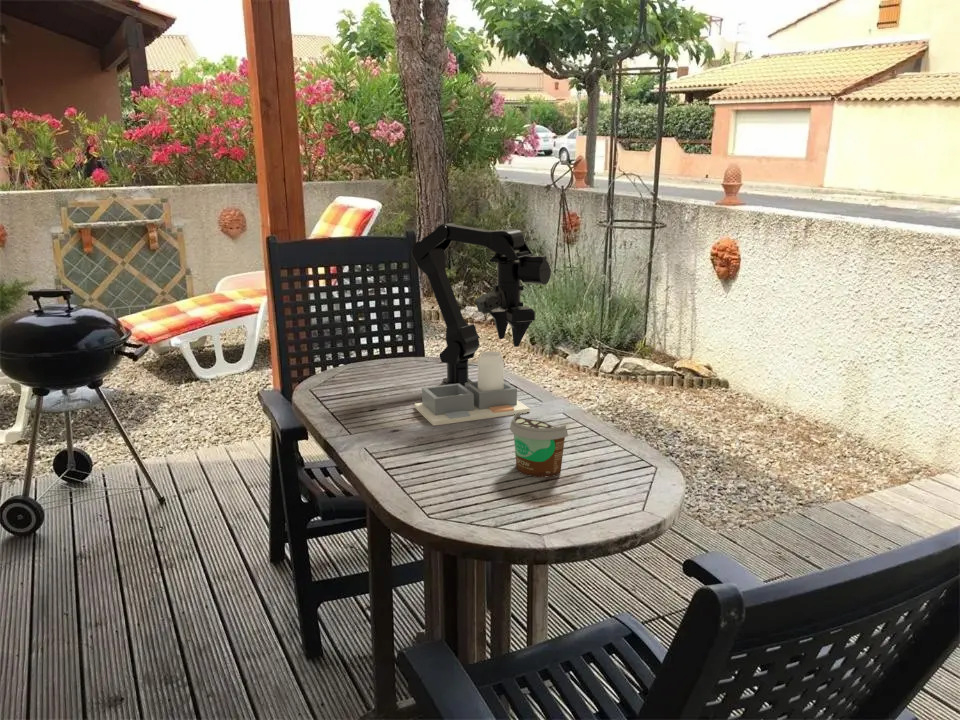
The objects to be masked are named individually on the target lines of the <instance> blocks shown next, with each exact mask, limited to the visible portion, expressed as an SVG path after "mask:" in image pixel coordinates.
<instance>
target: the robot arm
mask: <svg viewBox="0 0 960 720" xmlns="http://www.w3.org/2000/svg"><path fill="white" fill-rule="evenodd" d="M453 241H454V242H460V243H464V244H470V245H475V246H482V247H484V248H486V249H488V250H490V251H492V252H493V253H495V254H494V255H493V256H492V257H491V258H490V259H489V263H493V264H494V263H496V264H497V273H496V274H497V277H496V278H497V283H495V284H494V286H493V289H492V290H493V291H491V292H487V293H485V294H483V295H481V296H479V297H477V298H475V299H474V302H475V305H476V308H477V310H478V311H477V312H479V313H482V314H484V315H486V314H488V315H490V316H491V317H492V318H493V322H494V325H495V329H496V333H497V336H498V339H499V340H504V339H505V335H506V332H507V329H508V324H509V326H510V327H511V333H512V335H511V337H512V341H513V347H515V348H518V347H519V346H520V345H521V343H522V340H523V338H524V336H525V334H526V333H527V331H528V329H529V327H530V325H531V324H533V321H535V320H536V311H535V310H534V309H533V308H531V307H528V306H527V305H526V306H524V302H523V301H521V291H524V289H525V288H524V285H521V283H523V284H525V283H526V284H534V285H544V286H545V285H547V284H548V283H549V281H550V279H551V275H552V268H551V265H550V263H549V261H547V256H546V255H534V254H533V252H532V250H531V249H530V248H529V246H528V244H527V242H526V241H525V237H524V235H523V233H522V231H521V230H519V229H516V228H513V229H512V228H511V229H497V230H490V229H484V228H479V227H471V226H467V225H466V226H465V225H460V224H455V223H454V222H453V223H452V222H451V223H450V222H449V223H442V224H439V226H437V228H435V229H434V231H432V232H430V233H429V234H428V235H426V236H425V237H423V238H422V239H421V240H420V241H417V242H415V243H414V245H413V246H412V249H411V256H412V258H413V260H414V262H415V264H416V265H417V268H418V269H420V270H421V272H423V273H424V275H426V276H427V278H428V281H429V285H430V287H431V289H432V291H433V295H434V297H435V299H436V302H437V305H438V308H439V309H440V313H441V315H442V318H443V321H444V323H445V326H446V331H445V342H446V347H445V348H444V349H443V350H442V351H441V352H440V353H439V359H440V362H441V363H443V364H444V363H445V364H446V378H442V381H443V382H444V383H446V385H449V384H458V383H460V384H461V385H462V386H465V383H466V382H474V381H472V380H471V379H470V378H469V360H470V359H473V358H474V356H475V354H476V352H478V349H479V346H480V341H479V339H481V337H480V335H479V334H478V332H477V328H476V326H475V324H474V323H472V324H468V323H467V322H466V321H465V319H464V317H463V314H462V312H461V309H460V305H459V303H458V301H457V298H456V296H455V293H454V290H453V287H452V285H451V282H450V280H449V277H448V275H447V272H446V269H445V268H446V264H447V263H446V262H447V261H446V260H447V257H446V253H445V252H446V251H447V249H448V248H449V247H450V246H451V244H452V243H453Z"/></svg>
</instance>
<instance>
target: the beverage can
mask: <svg viewBox="0 0 960 720" xmlns="http://www.w3.org/2000/svg"><path fill="white" fill-rule="evenodd" d="M504 362H505V361H504V358H503V357H502V354H501V352H498V351H494V350H492V351H491V350H490V351H483V352H481V353H480V356H479V358H478V359H477V381H478V389H479V390H480V391H481V392H484V391H492V390H501V389H504V381H505V380H504V379H505V378H504V377H505V376H504V373H505V372H504V371H505V370H504V369H505V366H504V365H505V363H504Z"/></svg>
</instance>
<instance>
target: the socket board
mask: <svg viewBox="0 0 960 720" xmlns="http://www.w3.org/2000/svg"><path fill="white" fill-rule="evenodd" d="M421 399H422V400H421V401H422V402H418V403H414V409H415V410H417V411H418V412H419V414H420V415H422V416H423V417H424V419H426V420H427V421H428V422H429V423H430V424H431V425H432V426H441V425H449V424H455V423H463V422H469V421H476V420H485V419H492V418H499V417H506V416H514V414H517V413H519V412H520V415H521V414H522V413H523V414H528V413H527V412H530V413H531V408H530V407H528V406H527V405H525V404H524V403H523V402H521V401H519V400H518V388H517V387H515V386H514V385H512V384H510V383H509V382H507V381H505V380H504V389H501V390H492V391H484V392H481V391H480V390H479V389H478V380H477V381H473V382H466V383H465V385H461V384H460V383H458V384H449V385H448V384H443V385H441V384H440V385H433V386H425V387H421Z"/></svg>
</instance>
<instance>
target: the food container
mask: <svg viewBox="0 0 960 720" xmlns="http://www.w3.org/2000/svg"><path fill="white" fill-rule="evenodd" d="M509 430H510V432H511V433H512V434H513V440H514V441H513V442H514V452H515V454H514V455H515V464H516V465H515V466H516V470H517V472H519V473H520V472H521V473H520V474H522V473H523V474H522V475H525V476H528V475H531V476H530V477H533V476H536V477H535V478H546V477H545V476H550V477H554V476H553V475H555V476H558V475H560V474H559V473H561V472H562V463H563V454H564V447H565V438H566V437H568V436H569V434H568V428H567V425H566V424H565V425H561V426H558V427H557V426H553V425H551V424H550V423H546V422H544V421H542V420H536V419H529V418H525V417H521V414H520V412H519V413H517V414H515V415H512V419H511V421H510V426H509ZM557 474H558V475H557ZM542 476H543V477H542Z"/></svg>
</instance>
